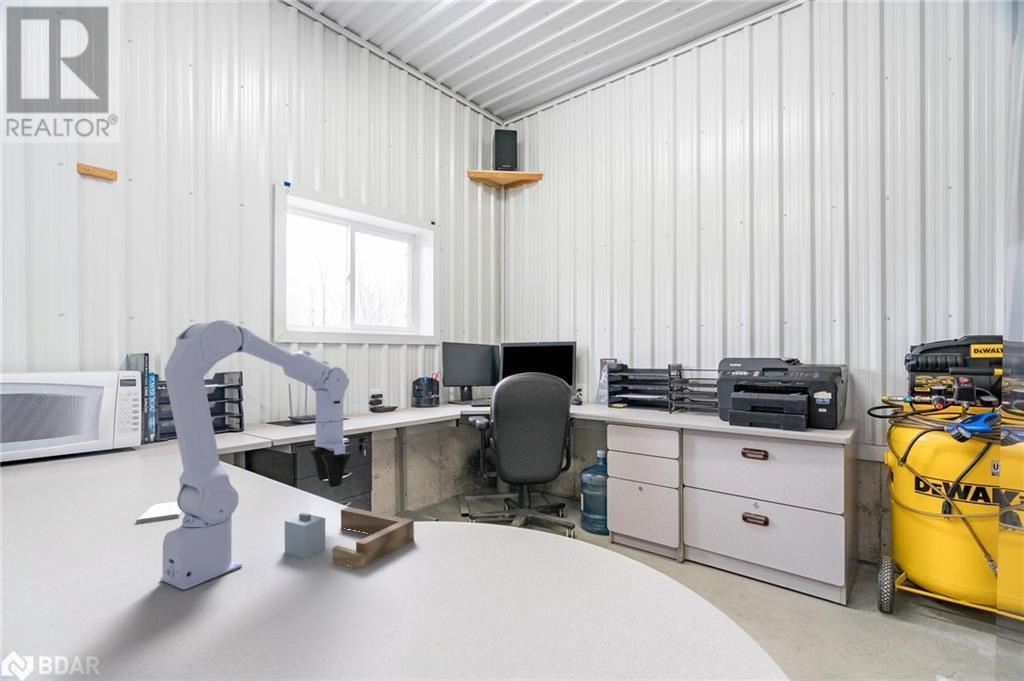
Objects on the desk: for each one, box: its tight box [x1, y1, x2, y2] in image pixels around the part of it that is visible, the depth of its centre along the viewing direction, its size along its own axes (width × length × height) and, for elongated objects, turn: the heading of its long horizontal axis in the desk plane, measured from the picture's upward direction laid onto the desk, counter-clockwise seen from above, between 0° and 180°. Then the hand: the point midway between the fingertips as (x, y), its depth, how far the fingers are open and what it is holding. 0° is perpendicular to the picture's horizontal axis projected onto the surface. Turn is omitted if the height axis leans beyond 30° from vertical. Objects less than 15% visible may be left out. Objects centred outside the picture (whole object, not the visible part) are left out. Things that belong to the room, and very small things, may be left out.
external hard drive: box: [135, 501, 184, 525], centre depth 110 cm, size 2×8×12 cm
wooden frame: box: [331, 506, 415, 570], centre depth 88 cm, size 14×19×4 cm
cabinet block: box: [284, 512, 326, 559], centre depth 86 cm, size 4×6×7 cm
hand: (329, 482), depth 98 cm, fingers open, 7 cm apart
